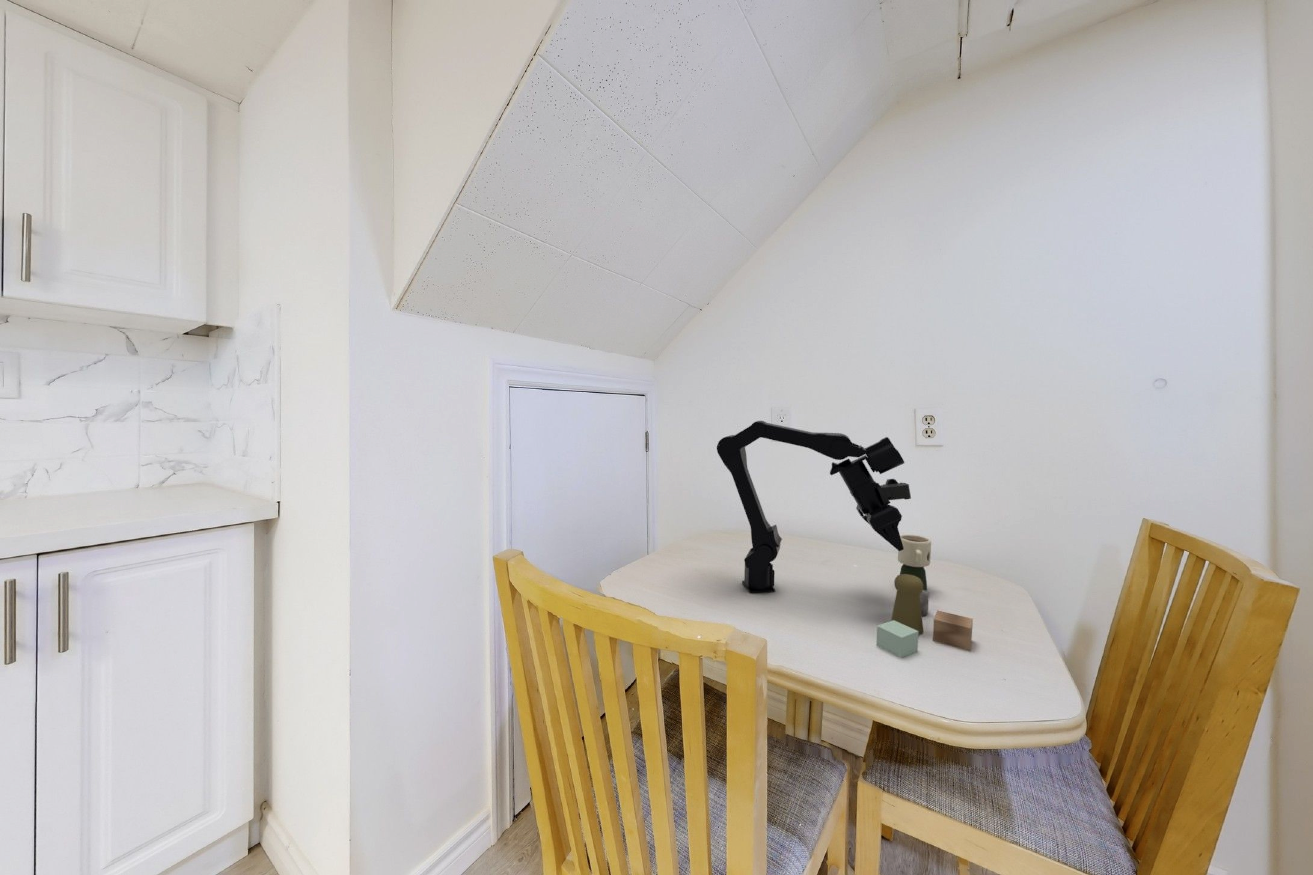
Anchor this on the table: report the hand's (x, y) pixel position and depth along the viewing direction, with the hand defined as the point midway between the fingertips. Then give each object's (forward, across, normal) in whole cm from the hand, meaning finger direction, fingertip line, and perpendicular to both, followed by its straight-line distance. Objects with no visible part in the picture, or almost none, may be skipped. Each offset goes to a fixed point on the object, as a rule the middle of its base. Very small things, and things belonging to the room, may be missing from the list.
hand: (896, 545), depth 104 cm
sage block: (+12, -18, +11) cm, 24 cm away
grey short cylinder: (+15, 0, +4) cm, 15 cm away
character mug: (+16, +14, +1) cm, 21 cm away
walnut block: (+17, -12, +1) cm, 21 cm away
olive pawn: (+14, -9, +7) cm, 18 cm away
